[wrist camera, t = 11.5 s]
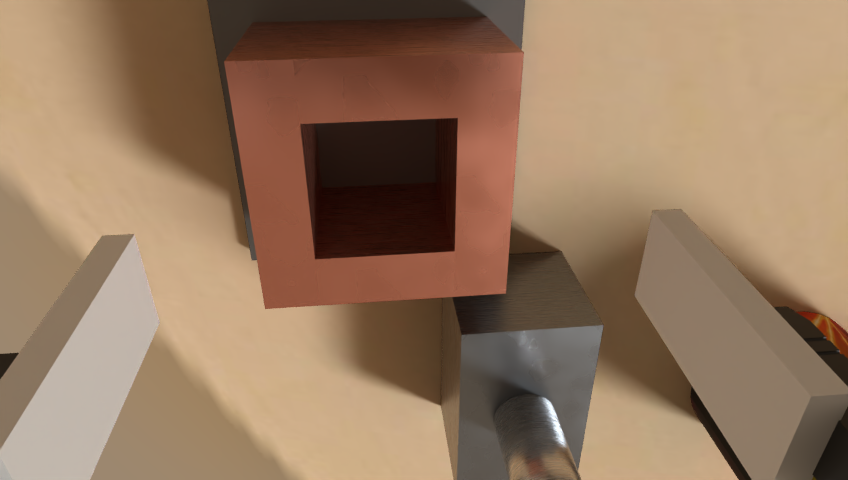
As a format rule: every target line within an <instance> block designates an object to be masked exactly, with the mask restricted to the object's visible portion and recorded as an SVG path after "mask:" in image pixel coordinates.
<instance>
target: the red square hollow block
mask: <svg viewBox="0 0 848 480" xmlns="http://www.w3.org/2000/svg"><path fill="white" fill-rule="evenodd" d="M523 55H524V52H523V51H522V50H521V49H520V48H519V47H518V46H517V45H516V44H515V43H514V42H513V41H511V40H510V39H509V38H508V37H507V36H506V35H505V34H504V33H503V32H502V31H501V30H500V29H499V28H498V27H497V26H496V25H495V24H494V23H493V22H492V21H491V20H490V19H489V18H488V17H487V16H486V17H446V18H406V19H366V20H326V21H286V22H252V24H251V25H250V26H249V28H248V29H247V31H246V32H245V33H244V35H243V36H242V37H241V39H240V40H239V42H238V43H237V44H236V46H235V47H234V49H233V50H232V51H231V53H230V54H229V55H228V57H227V58H226V60H225V61H224V64H225V70H226V76H227V82H228V88H229V94H230V100H231V106H232V112H233V118H234V124H235V130H236V136H237V142H238V148H239V154H240V160H241V166H242V172H243V178H244V184H245V190H246V196H247V202H248V208H249V214H250V220H251V226H252V232H253V238H254V244H255V250H256V256H257V262H258V268H259V274H260V280H261V286H262V292H263V298H264V305H265V309H271V308H286V307H302V306H318V305H333V304H349V303H365V302H380V301H396V300H412V299H427V298H443V297H459V296H474V295H490V294H506V285H507V272H508V258H509V245H510V231H511V218H512V204H513V191H514V177H515V164H516V150H517V137H518V123H519V109H520V96H521V82H522V69H523ZM414 119H436V145H435V182H431V183H410V184H389V185H368V186H348V187H327V188H322V182H321V172H320V162H319V151H318V141H317V131H316V123H337V122H363V121H388V120H414Z"/></svg>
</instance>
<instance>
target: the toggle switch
mask: <svg viewBox="0 0 848 480" xmlns="http://www.w3.org/2000/svg"><path fill="white" fill-rule="evenodd" d="M603 326H604V325H603V323H602V321H601V320H600V318H599V316H598V314H597V313H596V311H595V309H594V308H593V306H592V304H591V302H590V301H589V299H588V297H587V295H586V294H585V292H584V290H583V288H582V287H581V285H580V283H579V281H578V280H577V278H576V276H575V274H574V273H573V271H572V269H571V267H570V266H569V264H568V262H567V260H566V259H565V257H564V255H563V253H562V252H544V253H527V254H510V255H509V258H508V272H507V285H506V294H490V295H474V296H459V297H443V298H442V375H441V409H442V414H443V420H444V426H445V432H446V438H447V444H448V449H449V455H450V461H451V467H452V473H453V479H454V480H581V477H580V475H579V472H578V468H579V462H580V456H581V451H582V445H583V439H584V434H585V428H586V422H587V417H588V411H589V405H590V400H591V394H592V388H593V382H594V377H595V371H596V365H597V360H598V354H599V348H600V343H601V337H602V331H603Z"/></svg>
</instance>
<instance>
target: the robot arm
mask: <svg viewBox="0 0 848 480" xmlns="http://www.w3.org/2000/svg"><path fill="white" fill-rule="evenodd" d="M635 298H636V299H637V301H638V302H639V304H640V305H641V307H642V308H643V310H644V312H645V313H646V315H647V316H648V318H649V319H650V321H651V323H652V324H653V326H654V327H655V329H656V330H657V332H658V334H659V335H660V337H661V338H662V340H663V341H664V343H665V345H666V346H667V348H668V349H669V351H670V352H671V354H672V355H673V357H674V359H675V360H676V362H677V363H678V365H679V366H680V368H681V370H682V371H683V373H684V374H685V376H686V377H687V379H688V381H689V382H690V384H691V385H692V387H693V388H694V390H695V392H696V393H697V395H698V396H699V398H700V399H701V401H702V402H703V404H704V406H705V407H706V409H707V410H708V412H709V413H710V415H711V417H712V418H713V420H714V421H715V423H716V424H717V426H718V428H719V429H720V431H721V432H722V434H723V435H724V437H725V438H726V440H727V442H728V443H729V445H730V446H731V448H732V449H733V451H734V453H735V454H736V456H737V457H738V459H739V460H740V462H741V464H742V465H743V467H744V468H745V470H746V471H747V473H748V475H749V476H750V478H751V479H752V480H812V478H813V476H814V477H815V478H816V480H848V358H847V357H846V356H845V355H844V354H840V350H839V349H838V348H837V347H836V346H835V345H834V344H833V343H832V342H831V341H830V340H827V339H826V336H825V335H824V334H823V333H822V332H821V331H820V330H819V329H818V328H817V327H816V326H815V325H814V324H813V323H812V322H811V321H810V320H808V319H807V318H805V317H803V316H802V315H800V314H798V313H797V312H795V311H793V310H792V309H790V308H788V307H773V306H772V305H771V304H770V303H769V302H768V301H767V300H766V299H765V298H764V297H763V296H762V295H761V294H760V293H759V292H758V291H757V289H756V288H755V287H754V286H753V285H752V284H751V283H750V282H749V281H748V280H747V279H746V278H745V277H744V276H743V275H742V273H741V272H740V271H739V270H738V269H737V268H736V267H735V266H734V265H733V264H732V263H731V262H730V261H729V260H728V259H727V257H726V256H725V255H724V254H723V253H722V252H721V251H720V250H719V249H718V248H717V247H716V246H715V245H714V244H713V243H712V241H711V240H710V239H709V238H708V237H707V236H706V235H705V234H704V233H703V232H702V231H701V230H700V229H699V228H698V227H697V226H696V224H695V223H694V222H693V221H692V220H691V219H690V218H689V217H688V216H687V215H686V214H685V213H684V212H683V211H682V210H681V209H673V210H653V212H652V216H651V221H650V226H649V230H648V235H647V240H646V244H645V249H644V254H643V258H642V263H641V268H640V273H639V277H638V282H637V287H636V291H635ZM159 323H160V322H159V318H158V315H157V311H156V308H155V304H154V301H153V297H152V294H151V290H150V287H149V283H148V280H147V276H146V273H145V269H144V266H143V262H142V259H141V255H140V252H139V248H138V245H137V241H136V238H135V234H127V235H105V236H102V237H101V238H100V239H99V241H98V242H97V244H96V245H95V246H94V248H93V249H92V251H91V252H90V254H89V255H88V256H87V258H86V259H85V261H84V262H83V263H82V265H81V266H80V268H79V269H78V271H77V272H76V273H75V275H74V276H73V278H72V279H71V280H70V282H69V283H68V285H67V286H66V288H65V289H64V290H63V292H62V293H61V295H60V296H59V297H58V299H57V300H56V302H55V303H54V304H53V306H52V307H51V309H50V310H49V312H48V313H47V314H46V316H45V317H44V319H43V320H42V322H41V323H40V324H39V326H38V327H37V329H36V330H35V331H34V333H33V334H32V336H31V337H30V338H29V340H28V341H27V343H26V344H25V345H24V347H23V348H22V350H21V351H20V352H19V353H10V354H0V480H90V478H91V476H92V474H93V471H94V469H95V467H96V465H97V462H98V460H99V458H100V456H101V453H102V451H103V449H104V447H105V444H106V442H107V440H108V437H109V435H110V433H111V431H112V429H113V426H114V424H115V422H116V420H117V417H118V415H119V413H120V411H121V408H122V406H123V404H124V401H125V399H126V397H127V395H128V393H129V390H130V388H131V386H132V384H133V381H134V379H135V377H136V375H137V373H138V370H139V368H140V366H141V364H142V361H143V359H144V357H145V355H146V352H147V350H148V348H149V346H150V343H151V341H152V339H153V337H154V334H155V332H156V330H157V328H158V325H159Z"/></svg>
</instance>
